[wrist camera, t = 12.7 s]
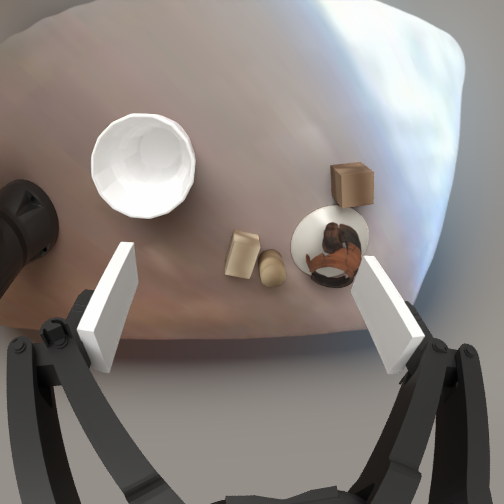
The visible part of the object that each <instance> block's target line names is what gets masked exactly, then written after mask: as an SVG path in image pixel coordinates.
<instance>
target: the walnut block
mask: <svg viewBox="0 0 504 504" xmlns="http://www.w3.org/2000/svg"><path fill="white" fill-rule="evenodd" d="M330 167H331V185H332V196H333V197H334V199H335V200H336V201H337V202H338V204H339V205H340V206H341V208H349V207H356V206H363V205H370V204H373V200H374V172H373V171H372V170H371V169H369V168H368V167H367V166H365V165H364V164H362V163H361V162H357V163H348V164H338V165H330Z"/></svg>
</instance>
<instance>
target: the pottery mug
mask: <svg viewBox="0 0 504 504" xmlns="http://www.w3.org/2000/svg"><path fill="white" fill-rule="evenodd" d="M339 227H340V228H339ZM339 227H338V224H337V223H334V222H331V223H328V224H327V225H326V228H325V230H324V233H323V234H324V238H323V241H322V247H323V250H324V252H326V253H329V254H328V255H327V256H325V255H324V254H323V253H321V254H319V255H318V256H316V257H314V258H313V259H312V260H310V257H309V255H308V254H306V263H307V265H308V268H309V270H310V271H309V272H311V273H312V274H311V279H312V280H313V281H315V282H316V283H318V284H320V285H323V286H326V287H331V288H342V287H346V286H348V285H350V284H351V283H352V282H353V280H354V276H355V275H356V274H357V272H358V270H359V268H358V267H359V266H360V264H361V260H362V258H361V255H362V250H361V243H360V240H359V236H358V233H357V232H356V231H355V230H354V229H353V228H352V227H350V226H348V225H345V224H340V225H339ZM344 242H345V244H346V248H345V247H343V243H344ZM324 267H333V268H337V269H340V270H342V271H344V272H346V273H347V274H348V276H349V277H348V278H345V276H342V277H340V278H332V277H329V278H328V277H327V276H325V275H322V274H319V273H317V272H316V270H317V269H319V268H324ZM355 270H356V271H355Z"/></svg>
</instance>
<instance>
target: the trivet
mask: <svg viewBox="0 0 504 504" xmlns="http://www.w3.org/2000/svg"><path fill="white" fill-rule="evenodd" d="M331 222H334V223H337V224H338V227H339V225H340V224H345V225H348V226H350V227H352V228H353V229H354V230H355V231H356V232H357V233H358V236H359V240H360V243H361V250H362V255H361V258H362V256H363V255H364V253H365V251H366V249H367V246H368V242H369V230H368V226H367V224H366V222H365V220H364V219H363V217H362V216H361V215H360V214H359V213H358V212H357V211H355V210H354V209H352V208H341V206H340V205H329V206H325V207H322V208H319V209H317V210H315V211H313V212H311V213H310V214H308V215H307V216H306V217H305V218H304V219H303V220H302V221H301V222H300V223H299V224H298V226H297V227H296V229H295V231H294V233H293V236H292V239H291V254H292V257H293V260H294V262H295V263H296V265H297V266H298V267H299V268H300V269H301V270H302V271H303V272H305V273H307V274H309V275H311V274H312V273H311V272H309V271H310V270H309V268H308V265H307V263H306V254H308V255H309V257H310V260H312V259H313V258H314V257H316V256H318V255H319V254H321V253H323V254H324V255H325V256H327V255H328V254H329V253H326V252H324V250H323V247H322V241H323V238H324V234H323V233H324V230H325V228H326V225H327V224H328V223H331ZM339 228H340V227H339ZM343 247H345V248H346V244H345V242H344V243H343ZM316 272H317V273H319V274H322V275H325V276H327V277H333V276H337V275H339V274H342V273H344V271H342V270H340V269H337V268H333V267H324V268H319V269H317V270H316Z"/></svg>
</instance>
